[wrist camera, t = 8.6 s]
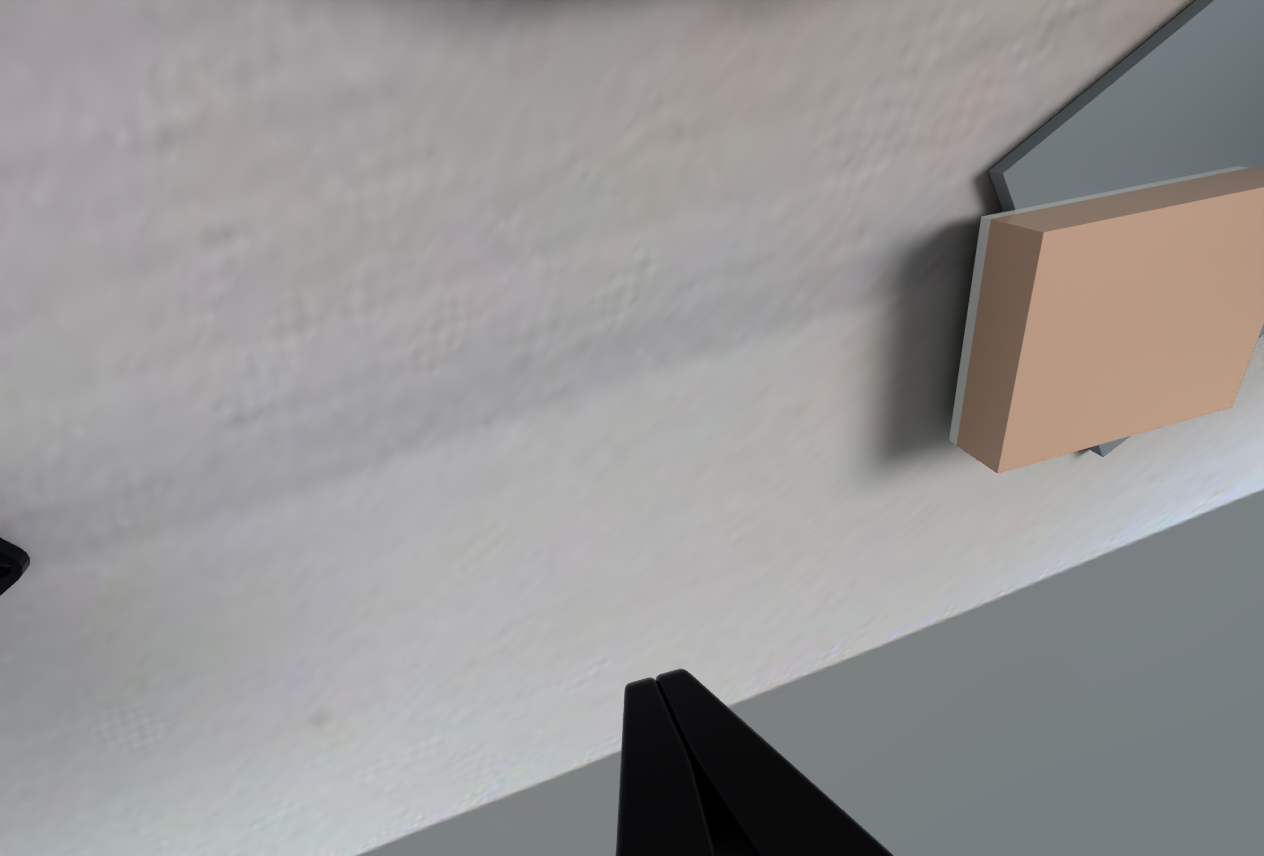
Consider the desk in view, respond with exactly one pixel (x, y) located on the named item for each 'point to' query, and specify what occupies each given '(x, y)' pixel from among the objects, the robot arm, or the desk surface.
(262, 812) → the desk surface
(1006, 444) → the terracotta tile
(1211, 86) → the grey rubber mat
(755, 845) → the robot arm
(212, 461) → the desk surface
